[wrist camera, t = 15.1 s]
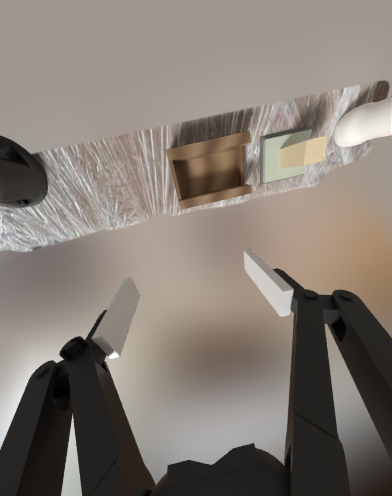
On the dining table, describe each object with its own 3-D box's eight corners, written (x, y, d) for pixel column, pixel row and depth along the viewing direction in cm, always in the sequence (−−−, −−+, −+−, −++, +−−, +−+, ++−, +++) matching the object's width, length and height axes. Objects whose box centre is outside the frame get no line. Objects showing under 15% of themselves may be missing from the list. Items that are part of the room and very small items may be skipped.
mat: (260, 184, 40) (260, 184, 40) (260, 137, 35) (261, 137, 35) (303, 174, 40) (304, 174, 40) (309, 126, 35) (310, 126, 35)
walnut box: (180, 205, 40) (180, 209, 34) (168, 155, 35) (165, 149, 28) (240, 191, 40) (251, 193, 34) (237, 139, 35) (250, 130, 29)
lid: (262, 182, 40) (285, 183, 31) (263, 140, 35) (290, 127, 27) (303, 173, 40) (336, 171, 31) (308, 130, 35) (349, 113, 27)
